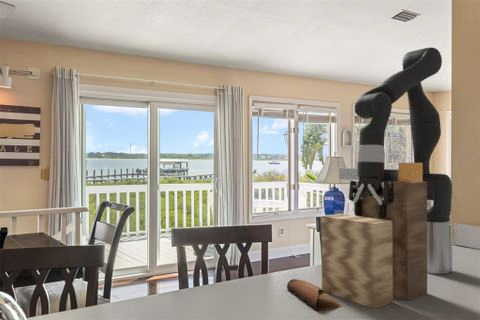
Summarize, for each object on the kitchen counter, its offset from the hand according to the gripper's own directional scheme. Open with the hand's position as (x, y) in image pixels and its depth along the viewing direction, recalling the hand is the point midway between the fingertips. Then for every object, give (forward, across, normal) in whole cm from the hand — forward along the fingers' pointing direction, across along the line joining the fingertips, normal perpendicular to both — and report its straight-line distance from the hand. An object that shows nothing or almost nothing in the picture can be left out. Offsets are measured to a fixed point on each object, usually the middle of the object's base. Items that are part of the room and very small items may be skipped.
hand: (369, 217), depth 120 cm
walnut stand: (+21, -1, -9) cm, 23 cm away
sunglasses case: (+24, +6, +15) cm, 29 cm away
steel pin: (-11, +3, -6) cm, 13 cm away
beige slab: (+22, 0, +4) cm, 23 cm away
